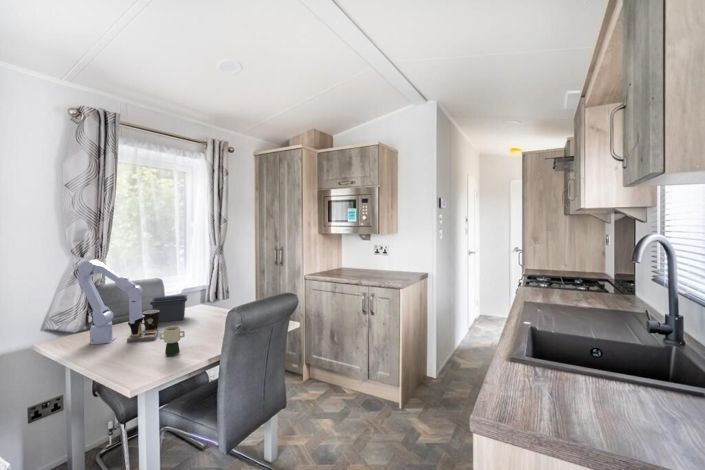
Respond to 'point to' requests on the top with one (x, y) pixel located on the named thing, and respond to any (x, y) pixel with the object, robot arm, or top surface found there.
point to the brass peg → (138, 332)
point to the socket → (143, 337)
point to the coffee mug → (151, 319)
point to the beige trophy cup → (171, 339)
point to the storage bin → (169, 307)
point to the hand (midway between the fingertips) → (136, 333)
